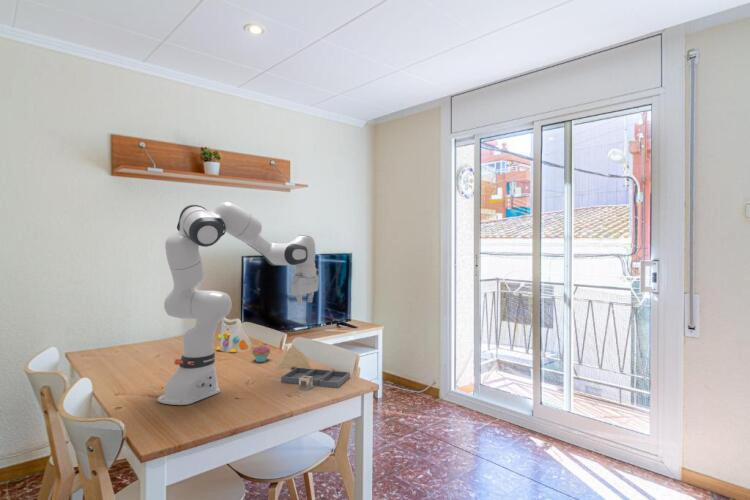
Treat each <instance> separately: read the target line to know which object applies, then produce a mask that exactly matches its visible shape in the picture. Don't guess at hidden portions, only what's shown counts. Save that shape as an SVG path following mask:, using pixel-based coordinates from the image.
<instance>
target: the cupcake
mask: <svg viewBox="0 0 750 500" xmlns="http://www.w3.org/2000/svg"><path fill="white" fill-rule="evenodd" d="M261 341H262V340H261V338H259V339H258V343H259V346H257V347H255V348H254V349H252V355H253V356H254V358H255V362H257V363H265V362H267V360H268V358H269V354H271V350H270V348H269V347H267V346H264V345H262V342H261Z"/></svg>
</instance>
